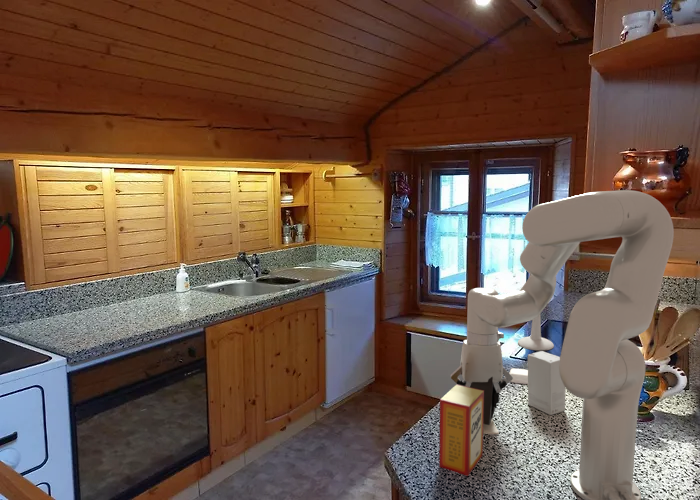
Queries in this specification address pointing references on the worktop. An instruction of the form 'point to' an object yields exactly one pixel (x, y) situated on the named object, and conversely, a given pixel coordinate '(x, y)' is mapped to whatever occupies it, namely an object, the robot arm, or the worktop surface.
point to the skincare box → (545, 383)
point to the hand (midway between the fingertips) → (480, 404)
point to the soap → (519, 375)
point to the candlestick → (536, 338)
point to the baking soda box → (461, 429)
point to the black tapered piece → (486, 398)
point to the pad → (490, 428)
